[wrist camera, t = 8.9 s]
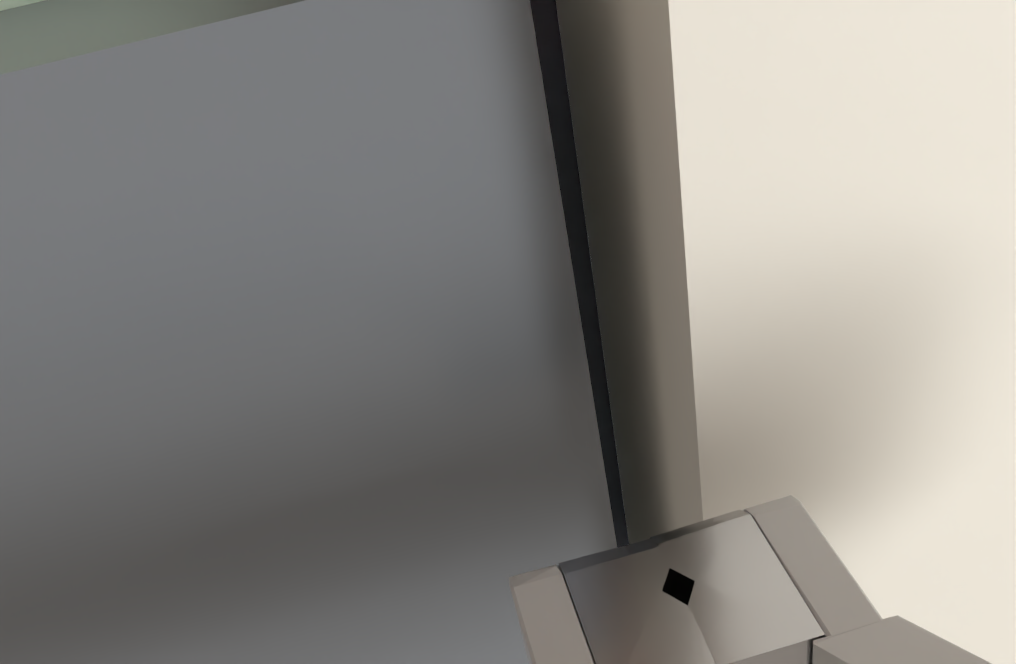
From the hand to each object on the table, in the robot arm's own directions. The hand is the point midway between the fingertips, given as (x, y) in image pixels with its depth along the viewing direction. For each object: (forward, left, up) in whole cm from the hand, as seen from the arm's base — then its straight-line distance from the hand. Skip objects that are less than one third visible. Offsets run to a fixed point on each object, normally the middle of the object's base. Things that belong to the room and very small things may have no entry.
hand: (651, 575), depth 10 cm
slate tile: (0, -4, -5) cm, 6 cm away
